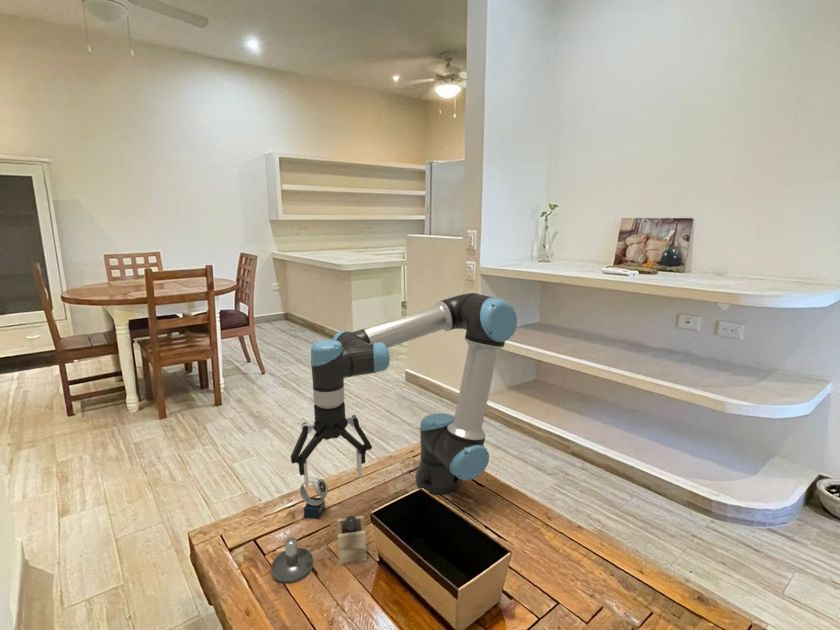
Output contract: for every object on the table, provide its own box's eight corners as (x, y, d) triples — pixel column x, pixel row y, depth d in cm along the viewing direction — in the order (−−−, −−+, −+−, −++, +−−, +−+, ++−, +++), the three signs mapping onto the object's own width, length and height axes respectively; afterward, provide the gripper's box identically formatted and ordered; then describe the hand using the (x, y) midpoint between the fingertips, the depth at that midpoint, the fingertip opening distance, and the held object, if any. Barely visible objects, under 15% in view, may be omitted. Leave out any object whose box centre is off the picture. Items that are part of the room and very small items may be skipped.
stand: (358, 546, 118) (357, 513, 116) (359, 556, 115) (358, 522, 113) (345, 548, 117) (343, 515, 115) (345, 558, 114) (343, 524, 112)
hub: (313, 550, 117) (312, 525, 115) (312, 579, 107) (310, 552, 106) (274, 556, 115) (272, 530, 113) (269, 586, 105) (267, 559, 104)
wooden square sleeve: (364, 541, 120) (363, 515, 118) (366, 560, 113) (365, 533, 112) (338, 545, 119) (337, 519, 117) (339, 564, 112) (337, 537, 110)
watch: (324, 519, 129) (322, 485, 127) (298, 517, 130) (296, 483, 128) (331, 507, 134) (329, 475, 132) (306, 505, 136) (303, 473, 133)
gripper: (374, 390, 117) (377, 463, 121) (276, 404, 109) (282, 481, 113) (381, 401, 110) (384, 477, 114) (277, 416, 102) (283, 498, 106)
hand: (333, 479), depth 114 cm, fingers open, 13 cm apart
